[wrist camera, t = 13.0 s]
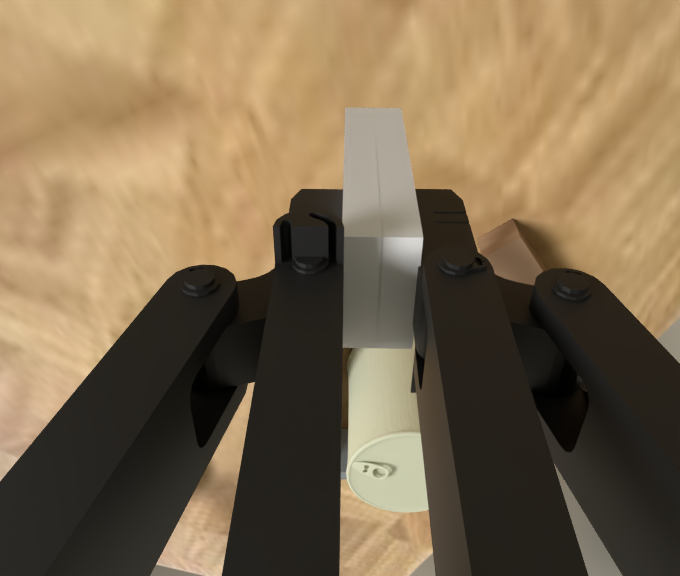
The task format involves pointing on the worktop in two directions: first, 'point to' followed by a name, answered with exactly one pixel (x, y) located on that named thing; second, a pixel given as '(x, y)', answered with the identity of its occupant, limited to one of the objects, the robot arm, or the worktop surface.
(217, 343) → the robot arm
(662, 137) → the worktop surface
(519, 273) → the bar
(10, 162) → the worktop surface
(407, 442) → the can
